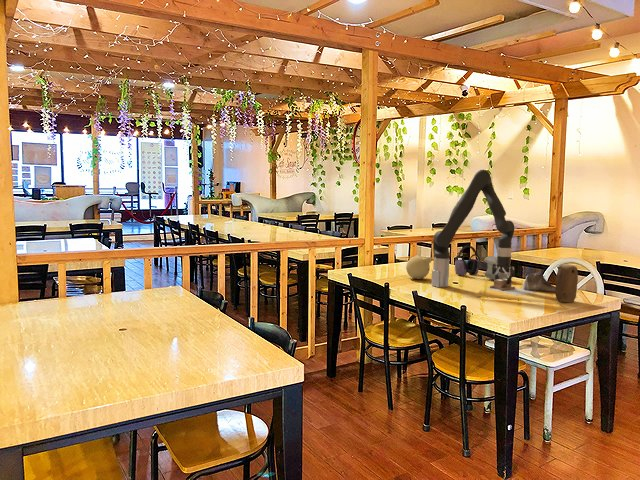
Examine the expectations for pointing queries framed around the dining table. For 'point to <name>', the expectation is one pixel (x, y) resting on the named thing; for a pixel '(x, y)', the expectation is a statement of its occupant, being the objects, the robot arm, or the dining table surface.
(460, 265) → the headphones
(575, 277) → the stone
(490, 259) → the decorative stone
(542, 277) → the shoe
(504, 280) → the reddish brown block
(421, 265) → the toy
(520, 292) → the panel
